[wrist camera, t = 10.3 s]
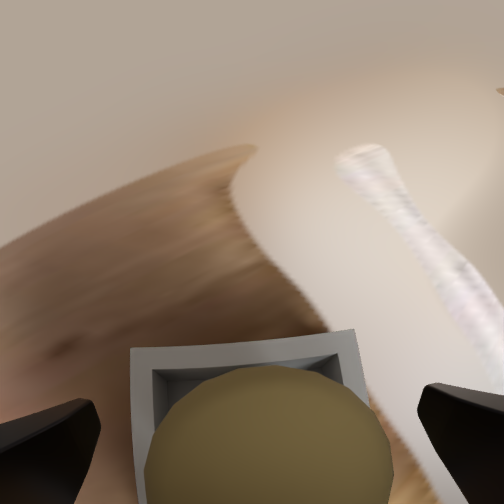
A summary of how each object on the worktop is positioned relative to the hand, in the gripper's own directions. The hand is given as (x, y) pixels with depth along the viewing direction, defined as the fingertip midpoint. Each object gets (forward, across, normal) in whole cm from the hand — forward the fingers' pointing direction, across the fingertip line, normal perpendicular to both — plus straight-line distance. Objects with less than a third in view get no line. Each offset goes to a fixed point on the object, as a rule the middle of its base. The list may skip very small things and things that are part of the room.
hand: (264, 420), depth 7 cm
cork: (+5, 0, -7) cm, 8 cm away
